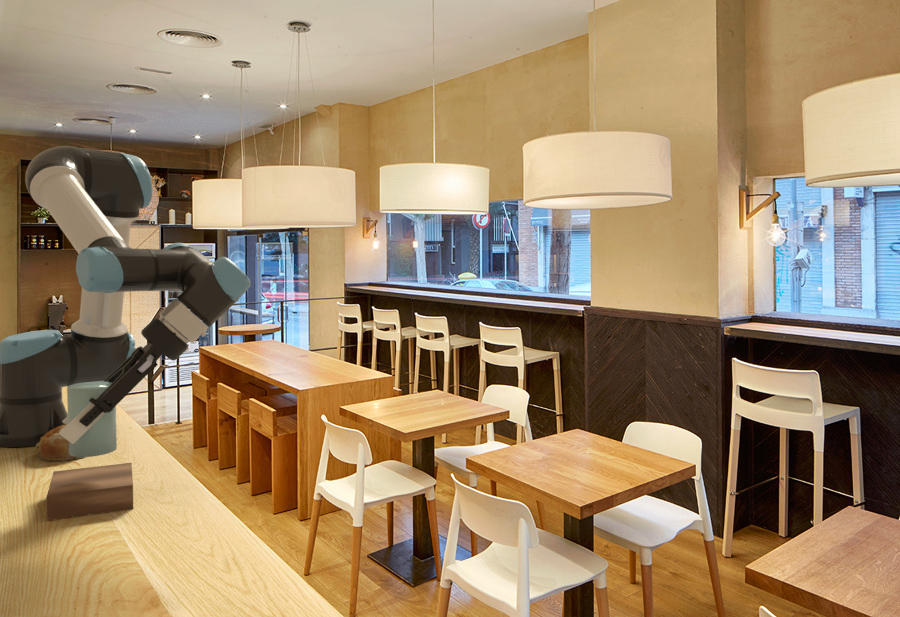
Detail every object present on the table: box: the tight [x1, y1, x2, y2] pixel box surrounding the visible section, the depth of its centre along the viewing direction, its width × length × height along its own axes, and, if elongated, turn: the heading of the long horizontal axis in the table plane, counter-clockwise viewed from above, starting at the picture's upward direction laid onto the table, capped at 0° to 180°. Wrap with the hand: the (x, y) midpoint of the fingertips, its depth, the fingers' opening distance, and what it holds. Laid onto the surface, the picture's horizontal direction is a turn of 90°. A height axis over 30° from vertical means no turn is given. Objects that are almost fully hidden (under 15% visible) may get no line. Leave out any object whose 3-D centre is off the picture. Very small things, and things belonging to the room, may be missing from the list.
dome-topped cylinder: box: [66, 381, 118, 458], centre depth 105 cm, size 7×7×11 cm
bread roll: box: [34, 425, 84, 462], centre depth 129 cm, size 10×10×8 cm
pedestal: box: [46, 462, 134, 522], centre depth 106 cm, size 12×12×4 cm
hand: (67, 432), depth 104 cm, fingers closed on dome-topped cylinder, 7 cm apart
